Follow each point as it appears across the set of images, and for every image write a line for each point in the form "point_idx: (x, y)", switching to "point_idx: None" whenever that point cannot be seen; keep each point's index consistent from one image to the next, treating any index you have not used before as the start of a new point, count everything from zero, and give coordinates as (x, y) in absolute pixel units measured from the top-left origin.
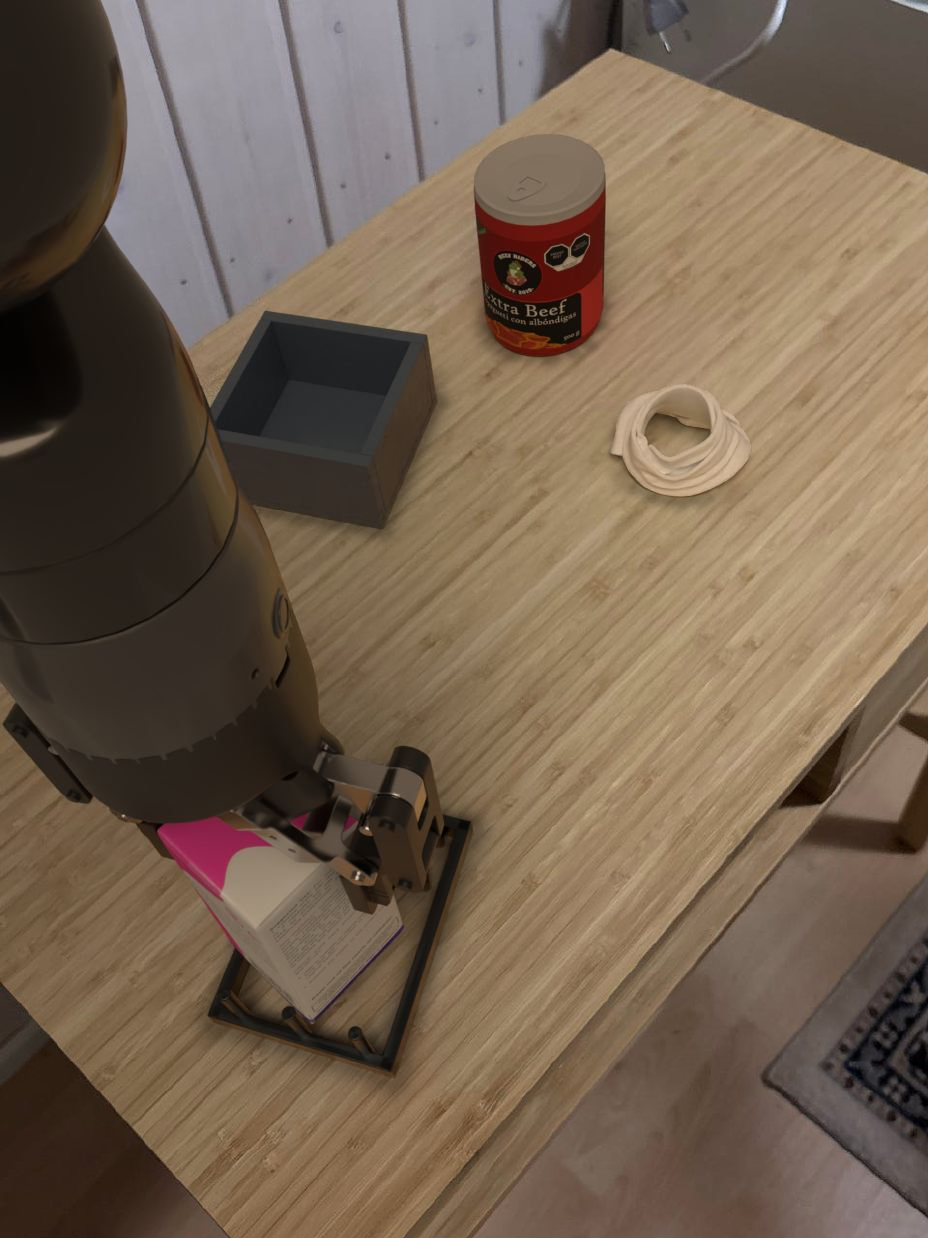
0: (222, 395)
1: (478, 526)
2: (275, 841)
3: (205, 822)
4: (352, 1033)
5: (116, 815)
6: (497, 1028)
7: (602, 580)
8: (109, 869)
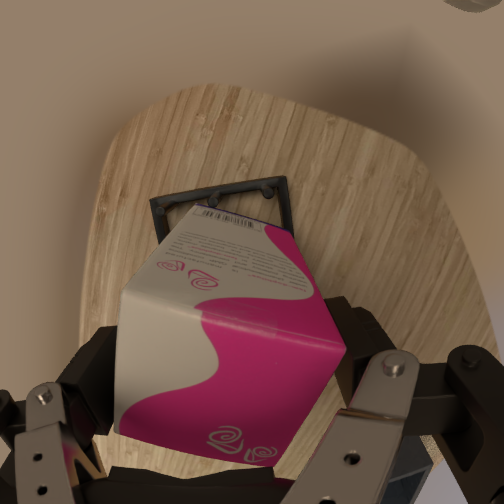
0: (424, 479)
1: (279, 469)
2: (47, 478)
3: (284, 384)
4: (161, 211)
5: (406, 354)
6: (117, 251)
7: (206, 465)
8: (399, 236)
